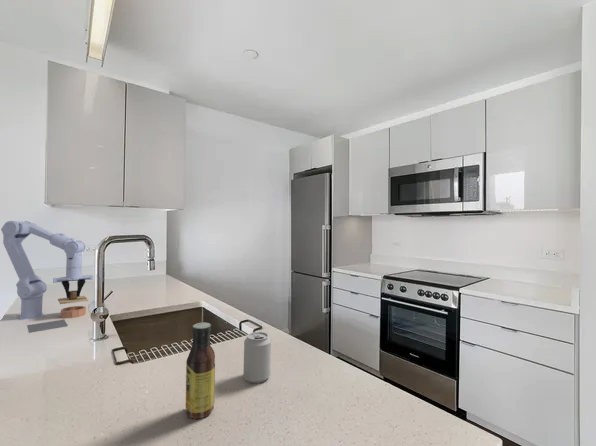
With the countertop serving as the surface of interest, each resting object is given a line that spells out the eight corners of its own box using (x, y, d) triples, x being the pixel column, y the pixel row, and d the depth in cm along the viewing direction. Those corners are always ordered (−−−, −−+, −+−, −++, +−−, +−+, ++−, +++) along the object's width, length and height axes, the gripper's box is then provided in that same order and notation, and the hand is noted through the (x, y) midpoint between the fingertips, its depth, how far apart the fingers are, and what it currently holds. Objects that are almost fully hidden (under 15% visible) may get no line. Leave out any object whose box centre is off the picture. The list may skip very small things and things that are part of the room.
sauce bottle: (189, 404, 71) (191, 319, 71) (216, 403, 71) (218, 319, 72) (181, 422, 64) (183, 329, 64) (210, 421, 65) (213, 328, 65)
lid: (57, 300, 137) (58, 290, 137) (84, 297, 144) (84, 288, 144) (60, 304, 130) (60, 294, 130) (88, 300, 137) (88, 291, 137)
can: (248, 387, 79) (249, 341, 79) (240, 374, 85) (240, 332, 86) (274, 380, 82) (275, 337, 82) (264, 369, 89) (265, 328, 89)
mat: (27, 326, 123) (27, 325, 123) (64, 320, 131) (64, 319, 131) (28, 333, 114) (29, 332, 114) (68, 327, 123) (68, 326, 123)
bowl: (59, 315, 138) (60, 308, 138) (83, 312, 144) (83, 304, 144) (62, 320, 131) (62, 312, 131) (87, 316, 137) (87, 308, 138)
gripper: (54, 269, 129) (53, 300, 129) (94, 266, 140) (93, 296, 139) (53, 267, 134) (52, 298, 134) (91, 265, 145) (90, 293, 144)
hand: (73, 296), depth 137 cm, fingers closed on lid, 3 cm apart
